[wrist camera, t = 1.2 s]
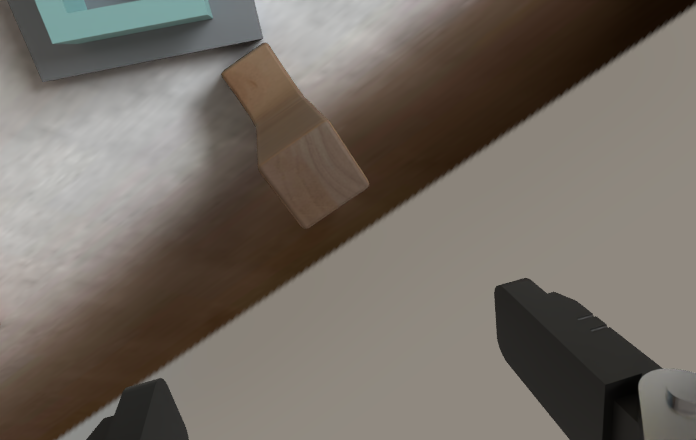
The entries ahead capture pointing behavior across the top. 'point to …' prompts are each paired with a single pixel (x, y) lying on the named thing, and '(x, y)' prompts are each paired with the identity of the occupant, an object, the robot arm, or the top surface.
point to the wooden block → (294, 140)
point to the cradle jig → (127, 31)
